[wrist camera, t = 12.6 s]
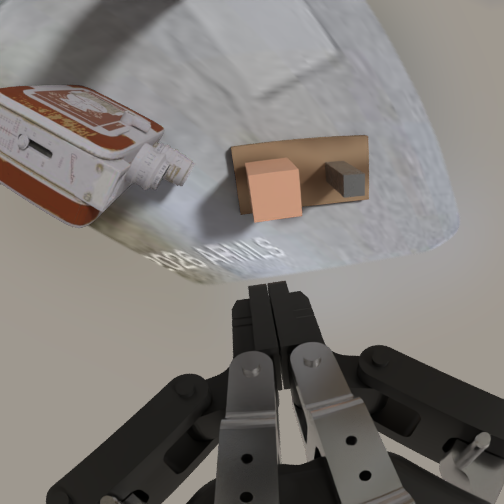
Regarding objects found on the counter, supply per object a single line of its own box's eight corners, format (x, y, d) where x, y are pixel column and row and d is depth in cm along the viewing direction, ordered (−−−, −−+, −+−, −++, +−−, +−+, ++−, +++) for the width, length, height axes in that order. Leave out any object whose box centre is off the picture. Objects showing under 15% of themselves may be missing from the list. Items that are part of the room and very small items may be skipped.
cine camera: (173, 200, 40) (132, 284, 22) (59, 136, 34) (-40, 175, 16) (209, 141, 36) (189, 181, 19) (87, 76, 30) (-13, 74, 13)
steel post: (325, 162, 38) (343, 175, 31) (343, 160, 38) (365, 173, 31) (326, 181, 39) (344, 197, 33) (344, 179, 39) (365, 195, 33)
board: (231, 146, 37) (231, 147, 36) (364, 135, 37) (368, 136, 36) (240, 212, 41) (240, 214, 40) (365, 197, 41) (368, 199, 40)
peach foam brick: (244, 162, 36) (248, 175, 30) (287, 157, 36) (298, 169, 30) (250, 202, 39) (254, 222, 33) (290, 197, 39) (302, 215, 33)
